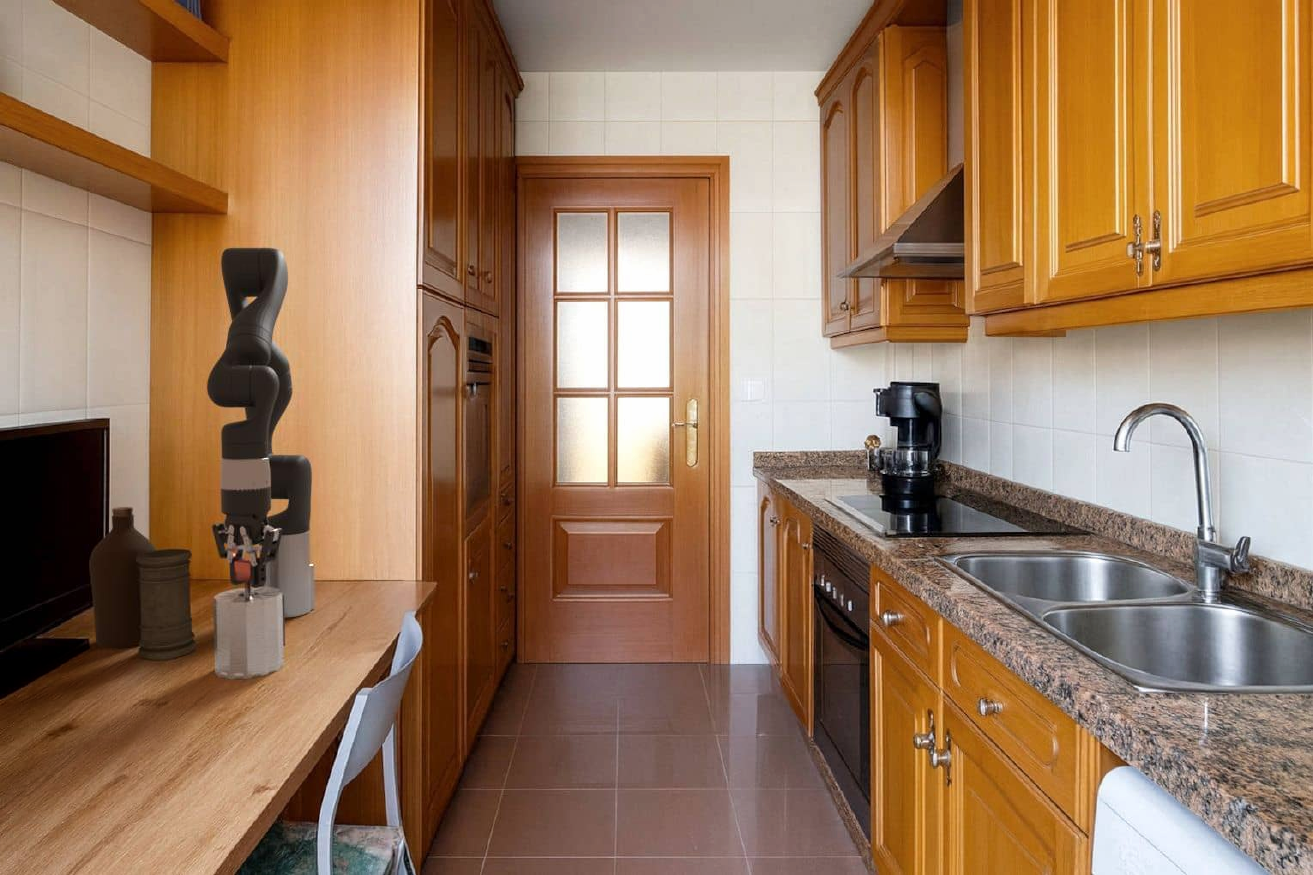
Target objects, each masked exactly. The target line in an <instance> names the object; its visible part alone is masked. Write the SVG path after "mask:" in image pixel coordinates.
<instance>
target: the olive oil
mask: <svg viewBox="0 0 1313 875" xmlns="http://www.w3.org/2000/svg"><path fill="white" fill-rule="evenodd" d="M111 510H112V511H111V512H112V516H111V524H112V525H111V526H112V528H111V530H110V531H109V532H108V533H107V534H106V536H104V537H103V538H102V539H101V540H100V541H99V542H98V543H97V545H95V546H94V548H93V549H92V552H91V553H90V557H89V561H88V562H89V563H88V565H89V567H88V568H89V575H90V584H91V585H90V586H91V594H92V605H93V614H94V616H93V617H94V618H93V619H94V632H95V633H94V634H95V644H96V646H97V647H98V648H100V649H105V650H106V649H107V650H111V649H112V650H114V649H115V650H116V649H127V648H134V647H137V646H140V645H139V641H140V639H141V629H140V624H141V599H140V581H139V578H140V570H139V568H138V566H139V565H140V564H139V563H137V561H136V558H137V556H138V555H139V554H141V553H144V552H149V551H154V550H157V549H156V547H155V545H154V543H153V542H152V541H151V540H150V539H148V538H147V537H146V536H145V535H143V534H142V533H141V532H140V531H138V529H136V527H135V524H134V523H135V519H134V518H135V515H134V514H133V512H134V508H133V507H131V506H120V507H114V508H112V509H111Z"/></svg>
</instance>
